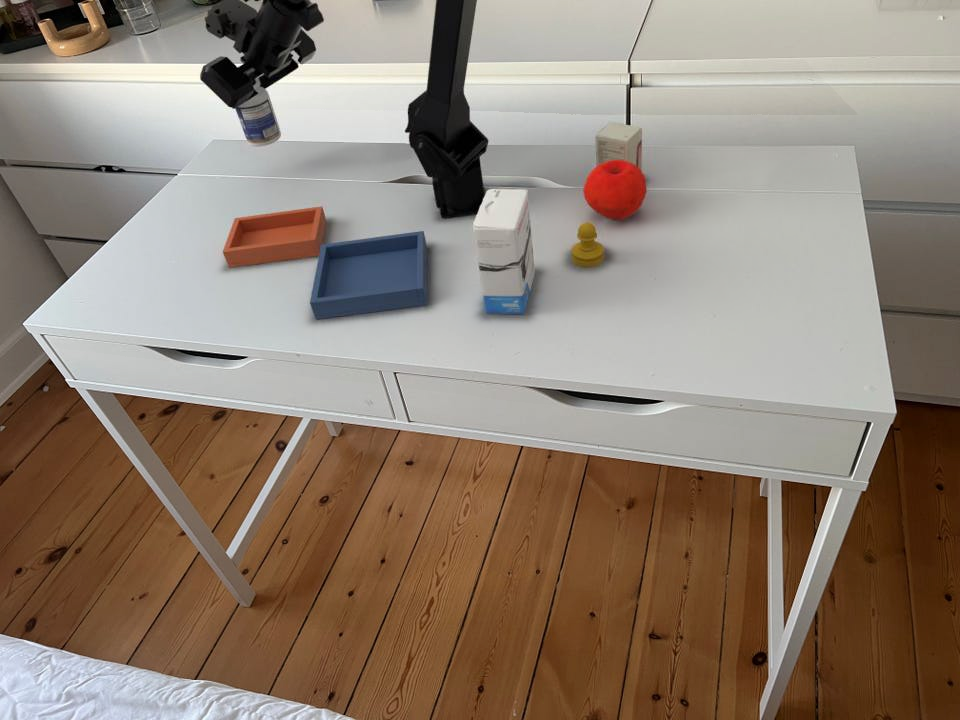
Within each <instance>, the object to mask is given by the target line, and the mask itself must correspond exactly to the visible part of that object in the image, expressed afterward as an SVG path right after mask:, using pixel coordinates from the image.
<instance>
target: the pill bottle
mask: <svg viewBox="0 0 960 720" xmlns="http://www.w3.org/2000/svg"><path fill="white" fill-rule="evenodd" d="M255 80H256V85H255V86H254V89H255V90H256V91H257V92H258V94H257V95H256V96H254V97H253V98H251V99H250V100H248V101H247V102H245V103H243V104H241V105H240V106H238V107H237V108H235V109H234V110H235V113H236V114H237V118H238V120H239V123H240V126H241V129H242V131H243V134H244V137H245V140H246V142H247V143H248V145H249V146H251V147H256V148H257V147H258V148H259V147H266V146H269V145H272V144H274V143H276V142H277V141H279V140H280V138H281V137H282V132H281V128H280V125H279V122H278V118H277V116H276V112H275V111H274V106H273V104H272V101H271V98H270V95H269V91H268V90H267V88H266V89H264V88H263V87H259V86H260V81H259V78H257V79H255Z"/></svg>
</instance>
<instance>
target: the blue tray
mask: <svg viewBox="0 0 960 720" xmlns="http://www.w3.org/2000/svg"><path fill="white" fill-rule="evenodd" d="M310 296H311V297H310V301H309V304H310V307H311V310H312V313H313V317H314V319H315V320H323V319H331V318H338V317H346V316H347V317H348V316H353V315H360V314H369V313H376V312H377V313H378V312H384V311H391V310H392V311H393V310H399V309H400V310H401V309H406V308H407V309H408V308H414V307H423V306H428V245H427V240H426V236H425V231H424V230H420V231H419V230H418V231H412V232H404V233H398V234H397V233H396V234H390V235H389V234H388V235H383V236H382V235H381V236H374V237H367V238H360V239H353V240H344V241H338V242H330V243H329V242H328V243H323V244H321V248H320V253H319V256H318V259H317V264H316V269H315V275H314V280H313V286H312V290H311V295H310Z"/></svg>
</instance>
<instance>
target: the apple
mask: <svg viewBox="0 0 960 720" xmlns="http://www.w3.org/2000/svg"><path fill="white" fill-rule="evenodd" d="M582 190H583V196H584V200H585V202H586V203H587V205H588V206H589V207H590V208H591V209H592V210H594V211H595V212H596V213H598V214H599V215H600V216H602V217H604V218H606V219H610V220H615V221H620V220H625V219H627V218H629V217H631V216H632V215H634V213H636V212H638V210H639V209H640V207H642V205H643V203H644V200H645V198H646V195H647V191H648V190H647V182H646V175H645V174H644V172H643V170H642V171H641V170H640V168H638V167H637V166H636V165H634V164H633V163H630V162H627V161H623V160H612V161H608V162H605V163H602V164H599V165H598V166H597V165H596V166H595V167H594V168H593V169H592V170H591V171H590V173H589V174H588V176H586V179H585V183H584V186H583V189H582Z"/></svg>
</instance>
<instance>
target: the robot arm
mask: <svg viewBox="0 0 960 720" xmlns="http://www.w3.org/2000/svg"><path fill="white" fill-rule="evenodd" d="M249 1H250V0H221V1H219V2H217V3H215V4H213V5H212V6H211V8H210V9H209V10H207V15H206V16H205V17H204V21H205V29H206V31H207V32H208V33H209V34H211V35H213V36H214V37H216V38H218V39H224V38H227V39H229V40H231V41H233V42H234V44H233V46H232V48H233V49H234V50H235V51H236V52H237V53H238V54H243V55H242V56H240V58H239V61H240V63H242V64H241V65H239V66H237V65H236V64H235V63H234V62H233V61H232V60H231V59H230V58H229V57H228V56H223V55H221V56H218V57H216V58H215V59H213V60H211V61H209V62H208V63H206V64H204V65H203V66H202V68H201V71H200V74H199V79H200V81H201V82H202V83H203V84H204V85H205V86H206V87H207V88H208V89H209V90H210V91H211V92H212V93H213V94H215V95H216V96H217V98H219V99H220V100H221V101H222V102H223V103H224V104H225V105H226V106H227V107H229V108H230V109H231V108H232V110H236V109H235V108H237V107H238V106H240V105H241V104H243V103H245V102H247V101H248V100H250V99H251V98H253V97H254V96H256V95H257V94H258V92H257V91H256V90H255V89H254V86H255V85H256V80H255V79H257V78H259V81H260V86H259V87H263V88H264V89H266V90H267V89H268V88H269V87H271V86H272V85H274V84H276V83H277V82H279V81H281V80H282V79H284V78H285V77H287V76H288V75H290V74H291V73H293V72H295V71H296V70H297V69H299V67H300V66H299V64H300V65H301V66H302V65H304V64H305V63H307V62H309V61H310V60H312V59H313V57H314V56H315V54H316V52H317V47H316V44H315V41H314V39H312V38H311V37H310V36H309V34H307V32H309V31H311V30H313V29H314V28H317V27H318V26H319V25H321V24H322V23H324V22H325V18H324V15H323V13H322V12H321V10H320V9H319V5H318V3H317V2H312V1H311V0H262V2H261V5H260V7H259V9H258V11H257V9H256V8H254V7H253V6H250V5H249V4H247V2H249ZM253 1H254V2H260V0H253ZM477 3H478V0H435V7H434V16H433V24H432V25H433V26H432V35H431V44H430V53H429V63H428V64H429V65H428V73H427V82H426V89H425V90H424V91H423V92H422V93H421V94H419V95H418V96H417V97H416V98H415V99H413V100H412V101H411V102H410V103H409V104H408V106H407V125H406V128H405V129H404V133H405V134H408V143H409V146H410V148H411V149H413V151H414V153H415V155H416V157H417V159H418V161H419V163H420V165H421V167H422V169H423V171H424V173H425V174H426V177H428V178H431V183H432V190H433V195H434V200H435V205H436V208H437V209H440V211H439V213H440V217H441V218H442V219H447V218H455V217H462V216H469V215H477V214H478V211H479V208H480V206H481V204H482V202H483V199H484V196H485V194H486V187H485V186H484V185H485V184H484V179H483V171H482V164H481V157H482V156H483V155H484V154H485V153H486V152H487V150H488V146H489V138H488V137H487V136H486V135H484V133H483V132H482V131H481V130H480V129H479V128H478V127H477V126H476V125H475V124H474V123H473V122H472V121H471V108H470V105H469V102H468V100H467V97H466V95H465V85H466V84H465V83H466V77H467V70H468V64H469V56H470V49H471V43H472V37H473V30H474V25H475V24H474V22H475V15H476V9H477ZM293 52H294V53H295V54H296V55H298V58H297V61H296V60H295V59H294V54H293Z"/></svg>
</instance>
